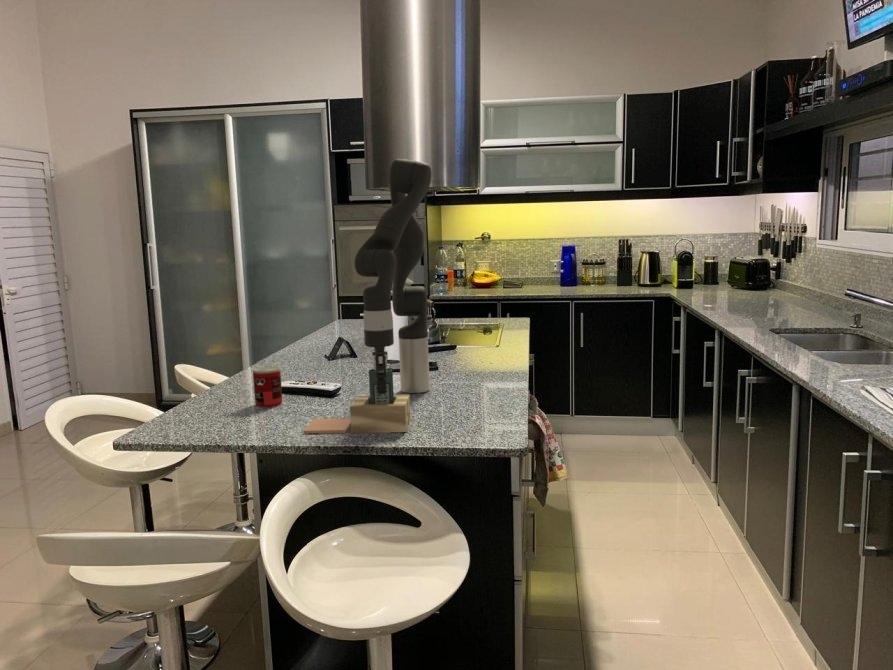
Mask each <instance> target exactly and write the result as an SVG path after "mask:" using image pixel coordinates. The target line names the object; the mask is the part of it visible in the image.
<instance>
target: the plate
mask: <svg viewBox="0 0 893 670" xmlns="http://www.w3.org/2000/svg"><path fill="white" fill-rule="evenodd" d="M349 427H350V428H351V418H315V419H314V418H313V419H312V420H311V421H310V423H308V425H307V426H306V427H305V428H304V429H303V434H304V433H319V434H346V433H348V431H349V429H350V428H349ZM347 430H348V431H347Z"/></svg>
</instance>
